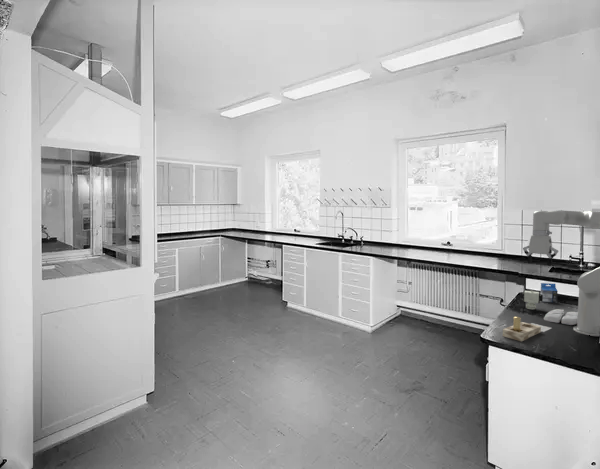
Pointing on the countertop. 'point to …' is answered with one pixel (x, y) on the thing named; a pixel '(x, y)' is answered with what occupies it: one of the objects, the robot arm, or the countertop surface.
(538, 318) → the countertop surface
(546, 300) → the label tape cartridge
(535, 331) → the hole block
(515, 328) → the brass peg
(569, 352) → the countertop surface
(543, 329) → the rubber mat
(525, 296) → the pneumatic valve
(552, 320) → the lung model
